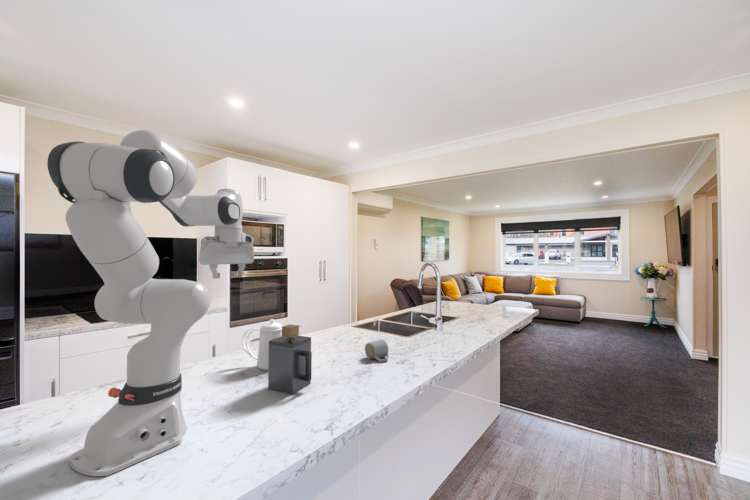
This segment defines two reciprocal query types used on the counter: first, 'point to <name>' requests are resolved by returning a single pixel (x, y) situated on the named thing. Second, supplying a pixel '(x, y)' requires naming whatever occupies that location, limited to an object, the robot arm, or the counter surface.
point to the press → (289, 364)
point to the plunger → (290, 331)
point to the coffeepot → (265, 342)
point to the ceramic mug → (377, 350)
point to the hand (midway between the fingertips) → (228, 277)
